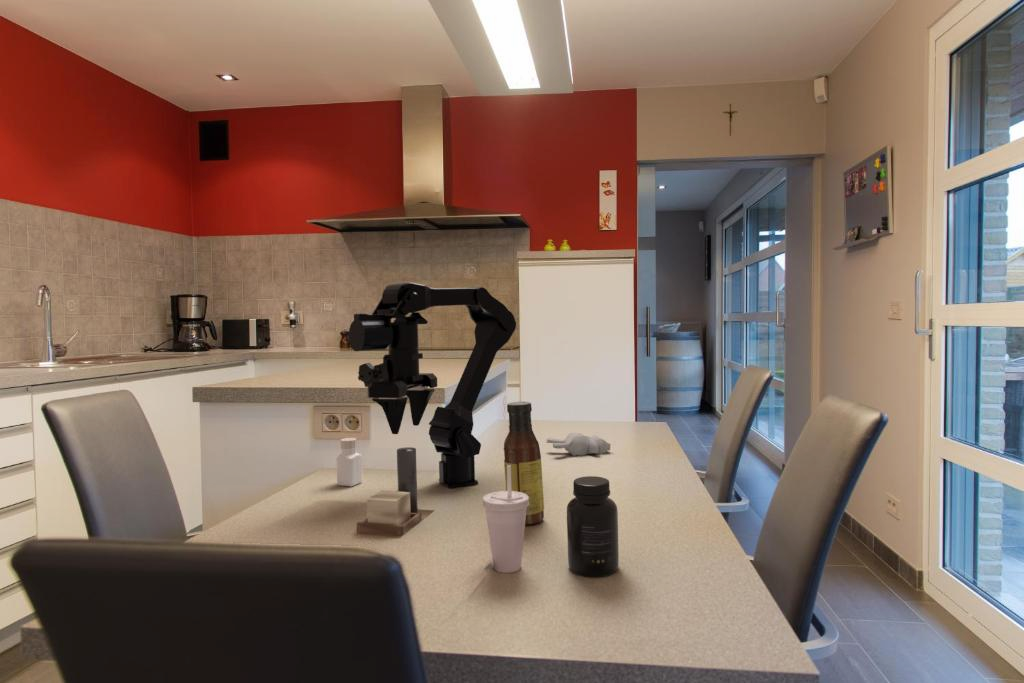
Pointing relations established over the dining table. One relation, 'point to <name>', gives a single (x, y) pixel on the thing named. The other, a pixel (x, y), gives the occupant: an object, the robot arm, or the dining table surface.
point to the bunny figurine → (581, 444)
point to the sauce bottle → (524, 460)
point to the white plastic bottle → (349, 464)
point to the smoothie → (506, 526)
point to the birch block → (389, 508)
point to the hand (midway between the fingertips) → (405, 429)
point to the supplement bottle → (592, 528)
